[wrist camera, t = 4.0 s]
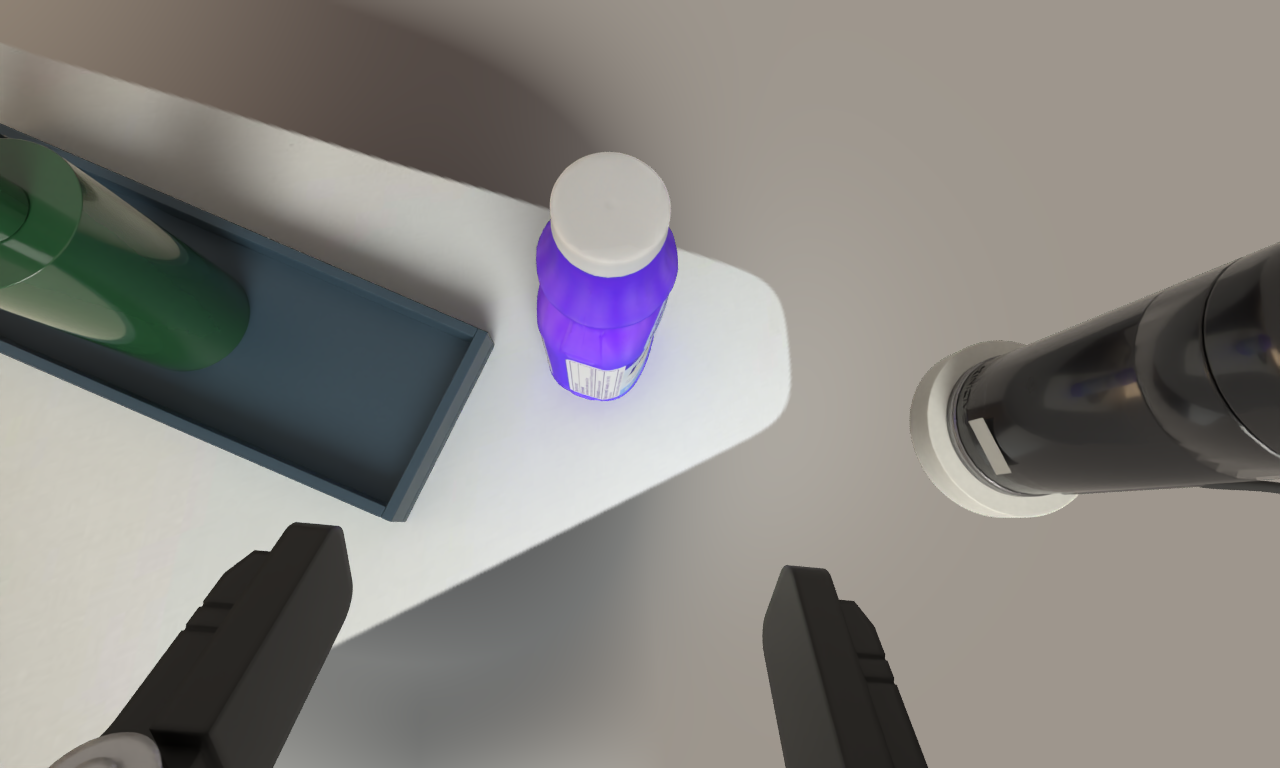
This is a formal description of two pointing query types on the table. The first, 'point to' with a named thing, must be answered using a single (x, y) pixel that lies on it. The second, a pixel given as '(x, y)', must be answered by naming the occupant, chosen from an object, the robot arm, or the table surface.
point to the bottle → (604, 273)
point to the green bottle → (108, 268)
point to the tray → (288, 364)
